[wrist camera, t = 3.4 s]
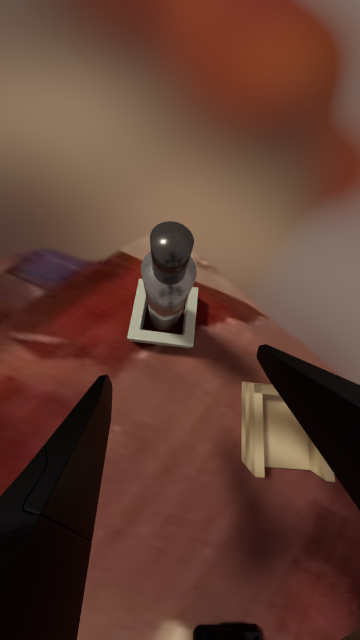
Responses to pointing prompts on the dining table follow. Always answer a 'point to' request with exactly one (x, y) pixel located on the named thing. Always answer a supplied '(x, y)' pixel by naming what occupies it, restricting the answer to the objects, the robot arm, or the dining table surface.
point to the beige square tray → (275, 435)
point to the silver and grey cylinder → (168, 273)
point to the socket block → (162, 338)
